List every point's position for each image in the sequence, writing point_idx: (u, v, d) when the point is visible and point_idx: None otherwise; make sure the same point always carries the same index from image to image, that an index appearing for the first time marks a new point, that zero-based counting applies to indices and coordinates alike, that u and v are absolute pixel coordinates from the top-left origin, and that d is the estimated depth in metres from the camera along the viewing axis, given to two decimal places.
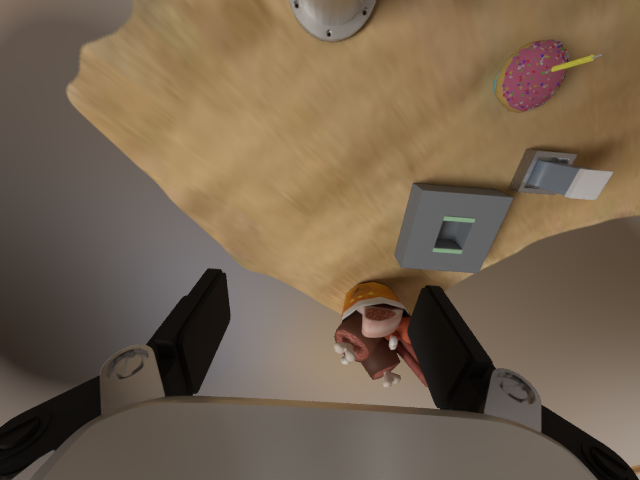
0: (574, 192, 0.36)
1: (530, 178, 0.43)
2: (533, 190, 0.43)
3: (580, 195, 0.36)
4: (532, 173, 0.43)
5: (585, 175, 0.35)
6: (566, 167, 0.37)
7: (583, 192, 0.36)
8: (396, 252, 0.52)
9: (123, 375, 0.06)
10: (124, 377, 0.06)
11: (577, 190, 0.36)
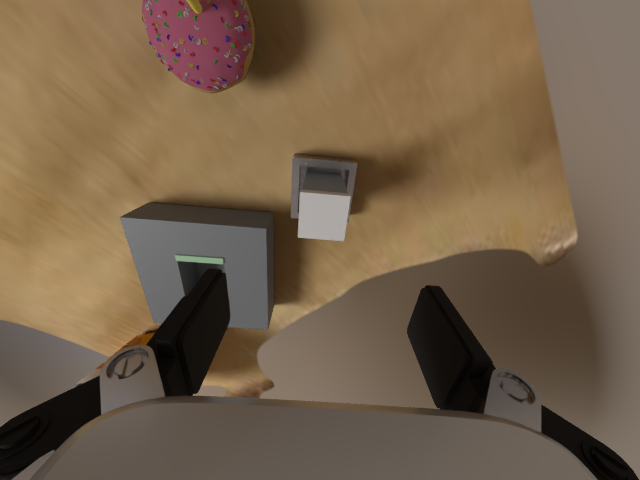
0: (302, 228, 0.21)
1: None
2: None
3: (314, 233, 0.21)
4: None
5: (305, 201, 0.20)
6: None
7: (317, 229, 0.21)
8: None
9: (123, 375, 0.06)
10: (124, 377, 0.06)
11: (305, 225, 0.21)
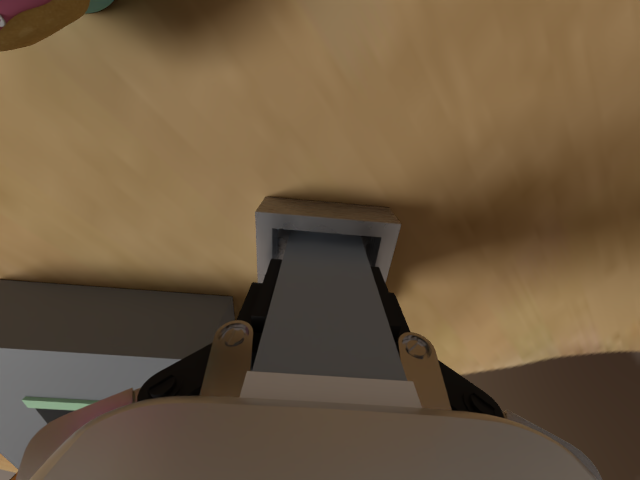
0: None
1: None
2: None
3: None
4: None
5: None
6: None
7: None
8: None
9: (228, 343, 0.08)
10: (228, 345, 0.08)
11: None
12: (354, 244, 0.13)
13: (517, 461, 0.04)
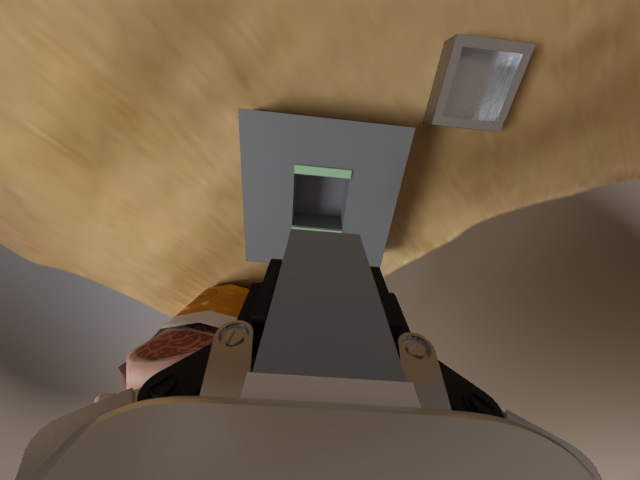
0: None
1: None
2: (460, 121, 0.24)
3: None
4: None
5: None
6: None
7: None
8: None
9: (228, 343, 0.08)
10: (228, 345, 0.08)
11: None
12: (354, 245, 0.13)
13: (517, 461, 0.04)
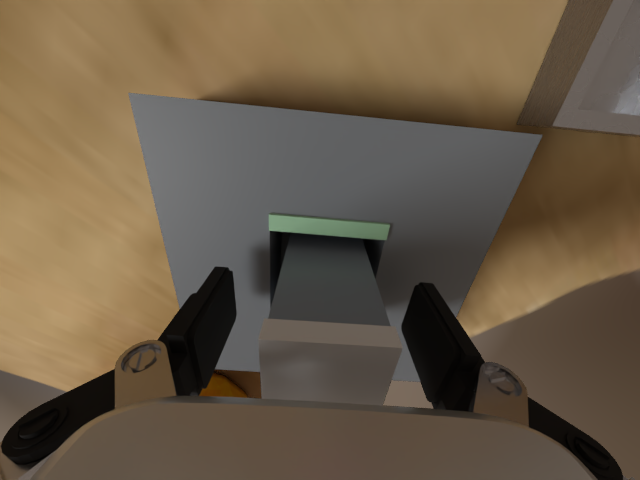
0: None
1: None
2: (612, 120, 0.12)
3: None
4: None
5: (275, 358, 0.07)
6: None
7: None
8: None
9: (136, 369, 0.07)
10: (137, 371, 0.07)
11: None
12: None
13: (517, 461, 0.04)
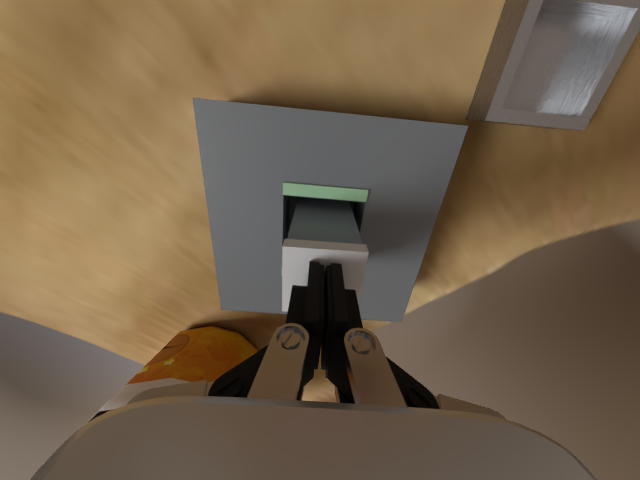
0: (289, 298, 0.13)
1: None
2: (527, 116, 0.16)
3: None
4: None
5: (292, 261, 0.12)
6: (291, 226, 0.14)
7: None
8: None
9: (284, 344, 0.08)
10: (284, 346, 0.08)
11: None
12: None
13: (517, 461, 0.04)
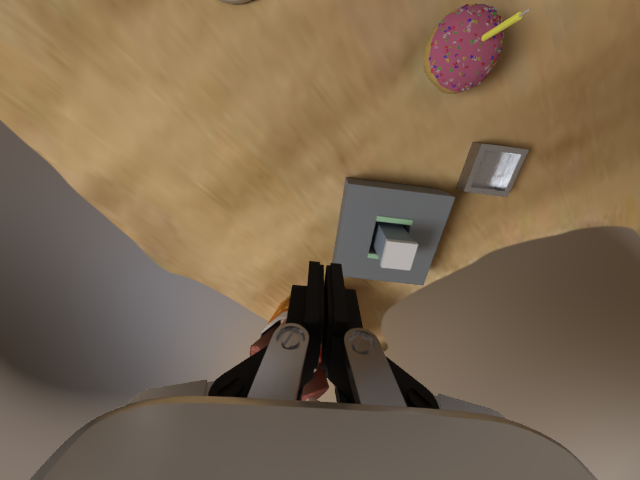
0: (385, 262, 0.34)
1: (373, 237, 0.41)
2: (481, 190, 0.37)
3: (392, 265, 0.34)
4: (374, 232, 0.41)
5: (390, 246, 0.33)
6: (383, 234, 0.35)
7: (394, 262, 0.34)
8: (333, 257, 0.45)
9: (284, 344, 0.08)
10: (284, 346, 0.08)
11: (387, 260, 0.34)
12: None
13: (517, 461, 0.04)
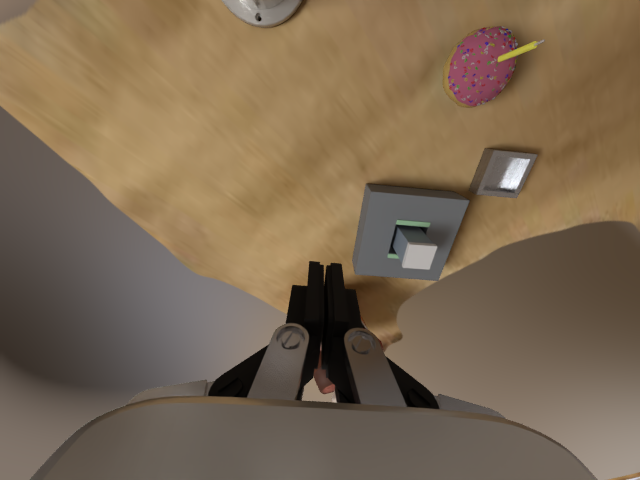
0: (407, 263, 0.37)
1: None
2: (493, 193, 0.40)
3: (413, 265, 0.38)
4: None
5: (411, 249, 0.36)
6: (404, 237, 0.39)
7: (415, 263, 0.37)
8: (353, 257, 0.48)
9: (284, 344, 0.08)
10: (284, 346, 0.08)
11: (408, 261, 0.37)
12: None
13: (517, 461, 0.04)
